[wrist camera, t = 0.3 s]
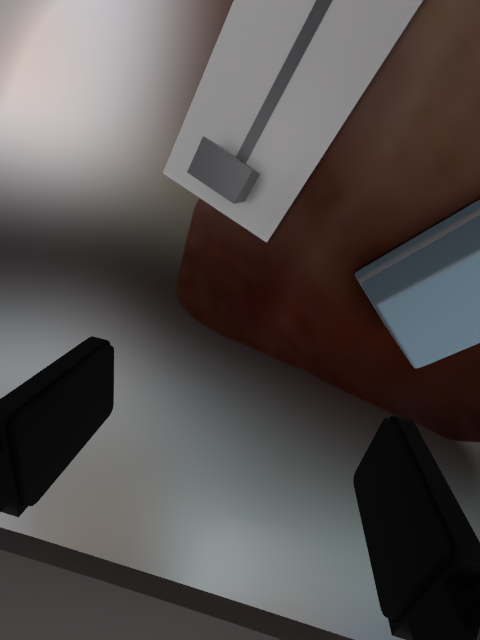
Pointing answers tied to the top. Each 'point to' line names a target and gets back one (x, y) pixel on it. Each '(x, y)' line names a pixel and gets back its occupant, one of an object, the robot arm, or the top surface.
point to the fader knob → (222, 171)
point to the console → (283, 94)
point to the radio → (430, 289)
